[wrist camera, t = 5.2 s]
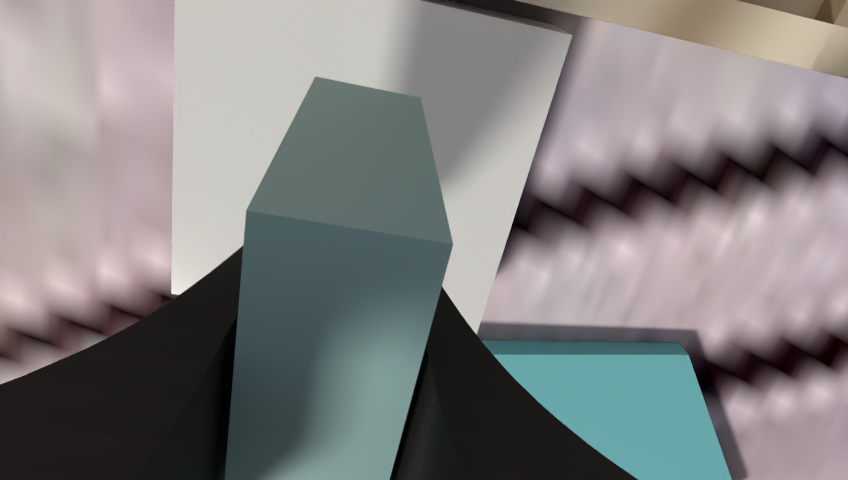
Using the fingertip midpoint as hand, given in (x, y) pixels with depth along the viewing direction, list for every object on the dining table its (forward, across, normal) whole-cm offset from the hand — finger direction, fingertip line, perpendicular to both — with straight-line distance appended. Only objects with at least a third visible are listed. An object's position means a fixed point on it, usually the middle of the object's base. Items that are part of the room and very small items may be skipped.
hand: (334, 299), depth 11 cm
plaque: (+9, -10, +15) cm, 20 cm away
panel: (+3, 0, 0) cm, 3 cm away
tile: (+8, 0, 0) cm, 8 cm away
